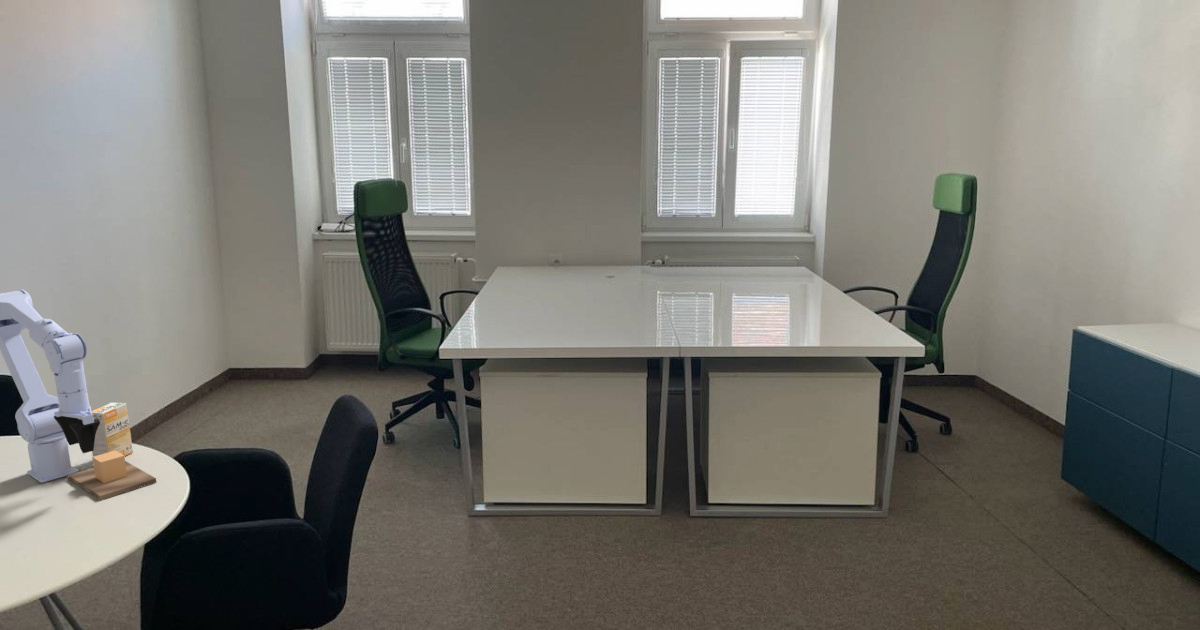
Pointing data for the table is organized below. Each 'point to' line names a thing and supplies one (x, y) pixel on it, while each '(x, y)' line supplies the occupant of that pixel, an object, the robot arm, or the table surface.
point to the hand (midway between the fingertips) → (81, 447)
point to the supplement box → (112, 429)
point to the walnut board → (111, 482)
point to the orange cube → (109, 466)
